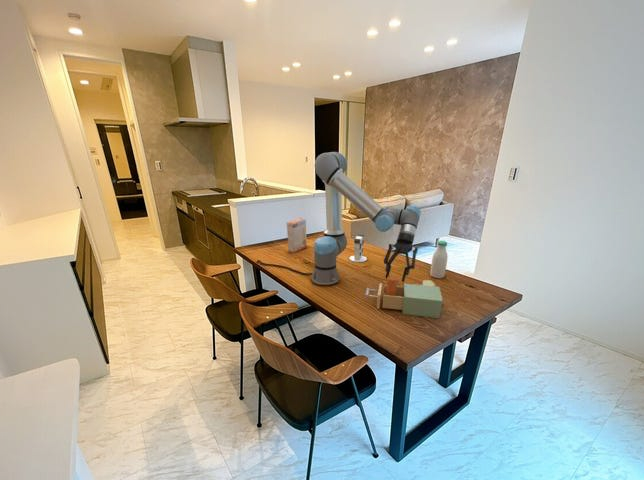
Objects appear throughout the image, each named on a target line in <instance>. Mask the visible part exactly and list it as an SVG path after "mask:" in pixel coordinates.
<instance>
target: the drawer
mask: <svg viewBox="0 0 644 480" xmlns="http://www.w3.org/2000/svg"><path fill="white" fill-rule="evenodd" d="M386 285H387V284H384V290H383V283H381V282H380V283H379V284H378V289H372V288H369V287H367V288H366V290H365V294H364V297H365V298H366V299H368V298H375V299H376V309H378V310H379V309H380V307H382V309H390V310H399V311H402V310H403V303H404V286H403V285H402V286H401V285H397V294H396V296H390V295H386ZM370 292H377V295H372V294H370ZM382 292H383V298H382ZM381 299H382V306H381Z"/></svg>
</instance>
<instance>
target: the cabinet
mask: <svg viewBox="0 0 644 480" xmlns="http://www.w3.org/2000/svg"><path fill="white" fill-rule="evenodd" d="M403 287H404V303H403V310H401V314H402V315H409V316H417V317H424V318H432V319H433V318H435V319H440V317H441V313H442V308H443V301H444V299H443V296H442V292H441V289H440V288H441V287H440V286H436V285H435V286H426V285H423V284H414V283H405V282H403Z"/></svg>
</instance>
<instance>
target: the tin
mask: <svg viewBox="0 0 644 480" xmlns="http://www.w3.org/2000/svg"><path fill="white" fill-rule="evenodd" d="M398 282H399V276H395V275H389V276H388V277H387V279H386V284H385V285H386V295H390V296H396V294H397V286H399V285H398V284H399V283H398Z"/></svg>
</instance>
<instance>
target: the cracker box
mask: <svg viewBox="0 0 644 480" xmlns="http://www.w3.org/2000/svg"><path fill="white" fill-rule="evenodd" d="M286 232H287V233H286V234H287V247H288V252H290V253H294V254H295V253H298V252H299V251H302V250H304V249H306V248H307V247H308V241H307V219H306V218H302V217H299V218H296V219H293V220H290V221H289V220H288V221H287V222H286Z"/></svg>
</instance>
